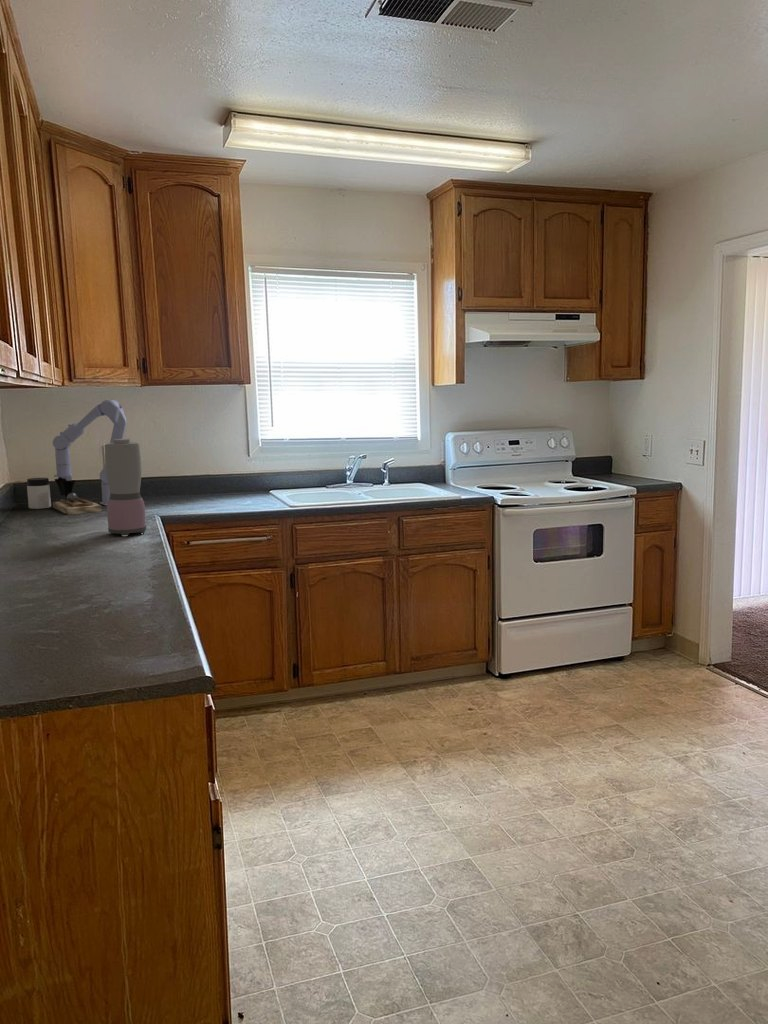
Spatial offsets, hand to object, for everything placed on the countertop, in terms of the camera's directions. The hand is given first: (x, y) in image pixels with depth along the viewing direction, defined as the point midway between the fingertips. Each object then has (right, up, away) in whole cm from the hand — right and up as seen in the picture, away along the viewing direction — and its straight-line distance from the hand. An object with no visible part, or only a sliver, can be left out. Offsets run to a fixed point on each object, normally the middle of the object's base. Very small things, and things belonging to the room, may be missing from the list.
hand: (65, 496), depth 318 cm
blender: (+47, -14, -62) cm, 79 cm away
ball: (+6, -1, -8) cm, 10 cm away
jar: (-8, -5, -6) cm, 11 cm away
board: (+10, -6, -12) cm, 16 cm away
